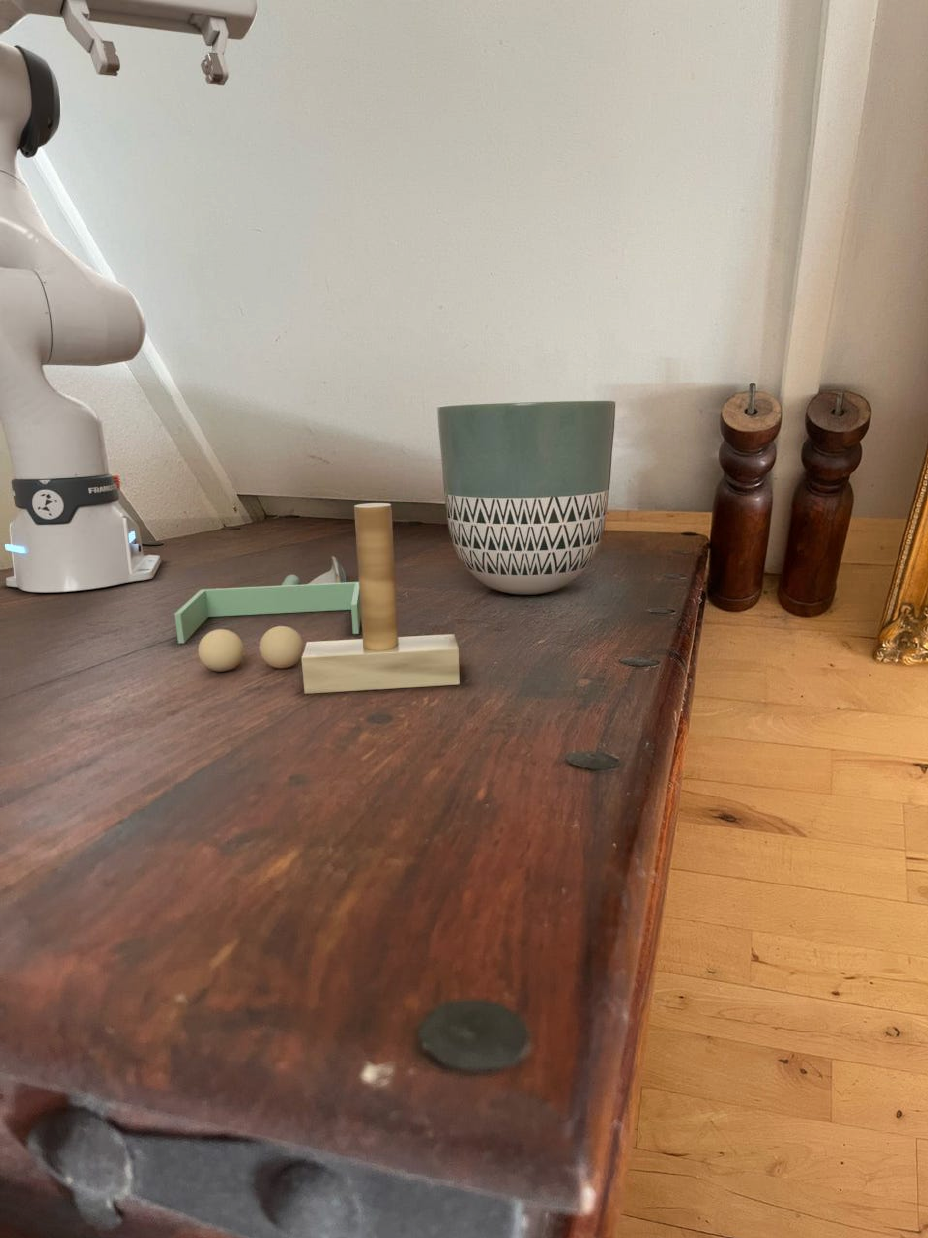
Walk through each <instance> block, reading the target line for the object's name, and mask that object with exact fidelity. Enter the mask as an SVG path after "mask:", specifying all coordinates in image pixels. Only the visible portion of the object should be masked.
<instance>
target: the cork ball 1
mask: <svg viewBox="0 0 928 1238" xmlns="http://www.w3.org/2000/svg"><path fill="white" fill-rule="evenodd" d="M197 650H198V657H199V660H200V662H201V663H202V664H203V666H204V667H206V668H207V669H208V670H210V671H212V672H217V673H224V672H229V671H231V670H233V669H235V668H236V667H237V666H238V665H239V664H240V662H241V661H242V659H243V656H244V645H243V642H242V640H241V638H240V637H239V636H238V634H236V633H235V632H233V631H231V630H229V629H226V628H225V629H223V628H219V629H218V628H217V629H214V630H211V631H209V632H207V633H206V634H205V635H204V636H203V637H202V639H201V640H200V642H199V644H198V649H197Z"/></svg>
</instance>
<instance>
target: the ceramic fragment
mask: <svg viewBox="0 0 928 1238" xmlns="http://www.w3.org/2000/svg"><path fill="white" fill-rule="evenodd" d="M330 562H331V568H330V570H328V571H326V572H323V573H322V574H320V575H319V576H317V577H316V578H314V579H313V580H312V581H310V582H309V583H308V584H324V583H344V582H347V576H346V572H345V569H344V567H343V566H342V565H341V563H340V562H339V560H338V558H337V557H335V556H334V555H332V556H331V560H330Z"/></svg>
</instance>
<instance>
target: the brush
mask: <svg viewBox="0 0 928 1238" xmlns="http://www.w3.org/2000/svg"><path fill="white" fill-rule="evenodd" d="M392 511H393V510H392V504H391V503H387V502H369V503H368V502H367V503H358V504H355V505H353V514H354V529H355V545H356V547H355V548H356V561H357V574H358V575H357V576H358V582H359V592H360V607H361V621H360V623H361V634H362V635H361V637H362V638H360V639H342V640H323V641H322V640H321V641H307V642H306V644H305V646H304V648H303V652H302V655H301V657H300V659H301V669H302V680H303V689H304V690H303V692H304V695H311V694H329V693H342V692H343V693H344V692H357V691H358V692H360V691H377V690H391V689H407V688H408V689H409V688H423V687H425V688H427V687H440V686H457V685H458V686H459V685H460V684H461V675H460V672H461V671H460V669H461V668H460V648H459V644H458V641H457V639H456V635H455V634H454V633H452V634H451V633H449V634H429V635H416V636H415V635H412V636H399V625H398V606H397V603H398V602H397V587H396V585H397V583H396V571H395V570H396V569H395V567H396V566H395V549H394V530H393V529H394V528H393V512H392Z"/></svg>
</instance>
